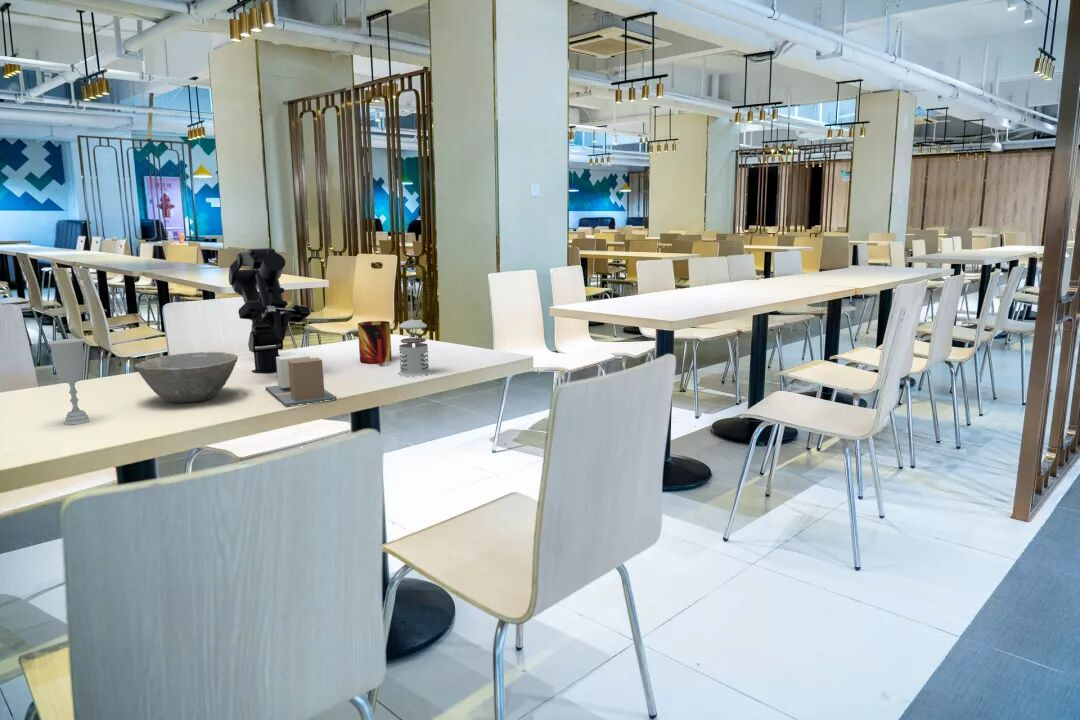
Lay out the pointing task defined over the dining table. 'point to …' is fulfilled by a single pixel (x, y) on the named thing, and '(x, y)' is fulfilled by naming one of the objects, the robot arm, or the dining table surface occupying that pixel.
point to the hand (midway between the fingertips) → (282, 339)
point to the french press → (413, 349)
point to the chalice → (70, 372)
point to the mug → (374, 342)
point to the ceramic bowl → (187, 375)
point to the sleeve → (286, 368)
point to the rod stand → (303, 384)
